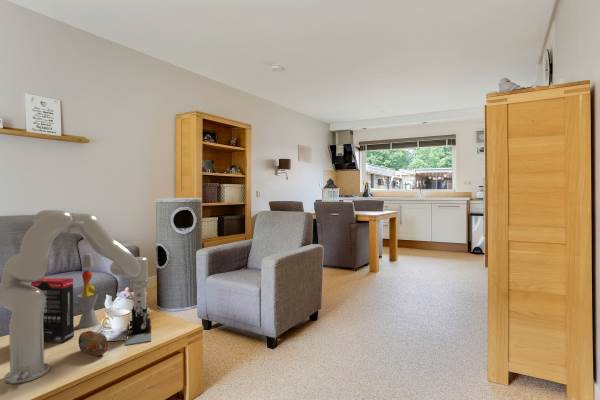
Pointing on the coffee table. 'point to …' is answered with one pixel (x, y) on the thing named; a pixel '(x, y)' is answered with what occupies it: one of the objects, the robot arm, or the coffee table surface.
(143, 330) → the beverage can
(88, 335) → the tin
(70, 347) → the coffee table surface
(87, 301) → the lava lamp
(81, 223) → the robot arm
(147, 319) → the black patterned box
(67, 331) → the graphics card box
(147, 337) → the grey mat
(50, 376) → the coffee table surface
